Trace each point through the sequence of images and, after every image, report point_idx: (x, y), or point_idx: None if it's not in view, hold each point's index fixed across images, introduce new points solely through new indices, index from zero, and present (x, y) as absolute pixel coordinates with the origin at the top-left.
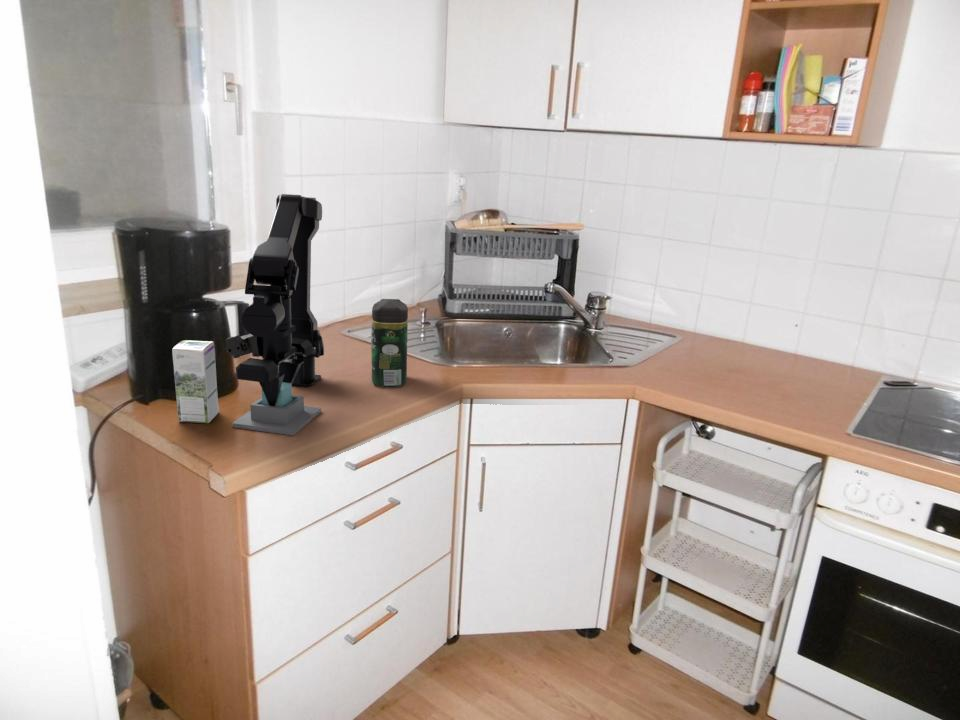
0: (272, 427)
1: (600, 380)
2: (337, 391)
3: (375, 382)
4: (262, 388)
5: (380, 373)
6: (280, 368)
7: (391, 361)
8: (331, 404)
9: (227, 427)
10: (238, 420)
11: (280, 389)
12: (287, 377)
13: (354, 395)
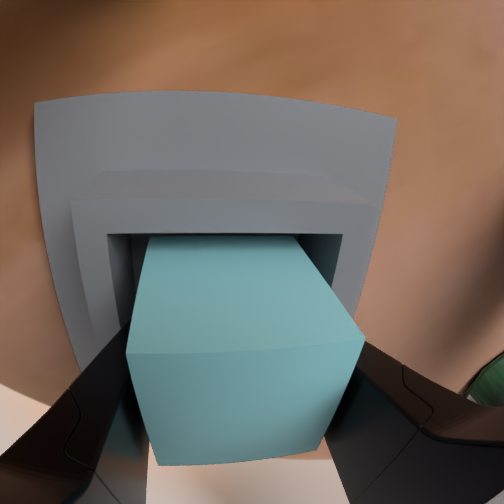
0: (71, 313)
1: None
2: (477, 317)
3: (482, 380)
4: (55, 406)
5: (489, 406)
6: (417, 481)
7: None
8: (391, 356)
9: (37, 80)
10: (73, 109)
11: (167, 459)
12: (351, 459)
13: (445, 365)
